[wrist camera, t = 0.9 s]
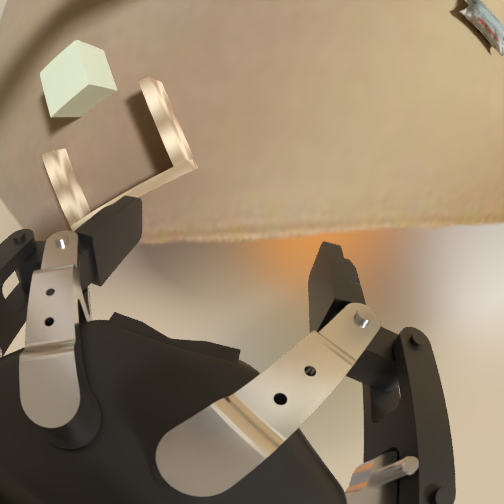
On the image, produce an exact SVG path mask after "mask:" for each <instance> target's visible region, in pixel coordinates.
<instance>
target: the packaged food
mask: <svg viewBox="0 0 504 504" xmlns="http://www.w3.org/2000/svg"><path fill="white" fill-rule="evenodd" d="M467 5H468V7H466V8H465V9H463V10H461V11H459V12H460V13H461V14H462V15H464V16H465V17H466V19H467V20H468V21H470V22H471V23H472V24H473V25H474V26H475V27H476V28H477V29H478V30H479V31H480V32H481V34H482V35H483V36H484V37H485V38H486V39H487V40H488V41H489V42H490V44H491V45H492V46H493V47H494V48H495V49H496V50H497V52H498V53H499V54H500V55H501V56H503V55H504V54H503V48H504V47H503V42H504V26H503V25H502V24H501V22H500V21H499V20H498V19H497V18H496V17H495V16H494V15H493V14H492V12H491V11H490V10H489V9H488V8H487V7H486V6H485V4H484V3H483V2H481V1H480V0H467Z"/></svg>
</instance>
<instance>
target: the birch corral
mask: <svg viewBox="0 0 504 504" xmlns="http://www.w3.org/2000/svg"><path fill="white" fill-rule="evenodd" d="M139 84H140V87H141V89H142V92H143V94H144V97H145V99H146V102H147V104H148V107H149V109H150V112H151V114H152V117H153V119H154V121H155V124H156V126H157V129H158V131H159V133H160V136H161V138H162V141H163V143H164V145H165V148H166V150H167V152H168V155H169V157H170V159H171V162H172V164H173V166H174V167H172V168H170V169H168V170H166V171H164V172H162V173H160V174H158V175H156V176H154V177H152V178H150V179H148V180H147V181H145V182H143V183H141V184H139V185H137V186H136V187H134V188H132V189H130V190H128V191H127V192H125V193H123V194H121V195H120V196H118V197H116V198H114V199H113V200H111V201H109V202H108V203H106V204H104V205H103V206H101V207H99V208H98V209H96V210H95V211H93V212H91V210H90V208H89V206H88V204H87V201H86V199H85V197H84V195H83V192H82V190H81V188H80V185H79V183H78V180H77V178H76V175H75V173H74V170H73V168H72V165H71V163H70V160H69V157H68V155H67V152H66V149H60V150H54V151H48V152H46V153H45V154H44V155H43V156H42V158H43V161H44V164H45V167H46V170H47V172H48V175H49V178H50V180H51V183H52V186H53V188H54V191H55V193H56V196H57V198H58V200H59V203H60V205H61V207H62V210H63V212H64V214H65V216H66V218H67V221H68V223H69V225H70V227H71V229H72V231H73V232H74V231H75V230H76V229H77V228H78V227H80V226H81V225H82V224H83V223H85V222H86V221H87V220H88V219H91V217H92V216H93V215H95V214H97V212H98V211H100V210H101V209H102V208H104V207H106V206H109V205H111V204H114V203H115V202H116V201H118V200H119V199H120V198H122V197H123V196H125V195H127V196H132V197H137V198H138V197H140V196H142V195H144V194H146V193H148V192H150V191H152V190H154V189H156V188H158V187H160V186H162V185H164V184H166V183H168V182H170V181H172V180H174V179H176V178H178V177H180V176H182V175H185V174H187V173H189V172H191V171H193V170H195V169H198V167H197V164H196V162H195V160H194V157H193V155H192V153H191V151H190V148H189V146H188V144H187V141H186V139H185V137H184V134H183V132H182V130H181V127H180V125H179V122H178V120H177V118H176V115H175V113H174V111H173V108H172V106H171V103H170V101H169V99H168V96H167V94H166V92H165V89H164V87H163V84H162V82H159V81H157V80H155V79H153V78H151V77H149V76H148V77H146V78H144V79H142V80H141V81H139Z"/></svg>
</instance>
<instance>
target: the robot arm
mask: <svg viewBox="0 0 504 504" xmlns="http://www.w3.org/2000/svg"><path fill="white" fill-rule="evenodd" d="M141 234H142V201H141V199H140V198H137V197H132V196H127V195H125V196H123V197H122V198H120V199H119V200H118V201H116V202H115V203H114V204H111V205H109V206H106V207H104V208H102V209H101V210H100V211H98V212H97V214H95V215H93V216H92V217H91V219H88V220H87V221H86V222H85V223H83V224H82V225H81V226H80V227H78V228H77V229H76V230H75V231H74V232H73V231H69V230H64V231H59V232H56V233H54V234H52V235H51V236H50V237H49V238H48V239H47V240H46V241H35V238H34V233H33V231H32V230H30V229H22V230H19V231H16V232H14V233H13V234H11V235H10V236H9V237H8V238H7V239H5V240H4V241H3V242H2V243H1V244H0V504H453V503H454V500H455V494H456V488H455V468H454V456H453V447H452V439H451V433H450V425H449V419H448V414H447V409H446V404H445V398H444V394H443V389H442V385H441V381H440V376H439V373H438V369H437V365H436V361H435V358H434V354H433V351H432V348H431V344H430V342H429V340H428V338H427V337H426V336H425V335H424V334H423V333H422V332H421V331H420V330H418V329H416V328H413V327H405V328H404V329H403V330H402V331H401V332H400V333H399V335H398V334H395V333H393V332H391V331H389V330H387V329H385V328H383V327H381V322H380V319H379V317H378V315H377V314H376V312H375V311H374V310H372V309H371V308H370V307H368V306H366V303H365V299H364V296H363V292H362V288H361V285H360V281H359V278H358V274H357V271H356V268H355V266H354V265H353V264H352V263H351V261H350V260H348V259H345V258H344V257H343V252H342V249H341V246H340V245H336V244H332V243H328V242H325V241H324V242H323V243H322V244H321V247H320V249H319V252H318V254H317V257H316V260H315V262H314V265H313V267H312V270H311V272H310V276H309V281H308V292H309V318H310V320H309V321H310V334H309V335H307V336H306V337H305V338H304V339H303V340H302V341H301V342H300V343H298V344H297V345H296V346H294V347H293V348H292V349H291V350H290V351H288V353H286V354H285V355H284V356H283V357H281V358H280V359H279V360H277V361H276V362H275V363H274V364H272V365H271V366H270V367H269V368H267V369H266V370H265V371H264V372H262V373H261V374H260V373H259V372H258V371H257V370H255V369H254V368H253V367H251V366H250V365H248V364H247V363H245V362H243V361H241V360H239V354H240V350H239V349H235V348H230V347H227V346H223V345H219V344H215V343H211V342H207V341H191V340H179V339H171V338H168V337H166V336H165V335H163V334H161V333H160V332H158V331H156V330H155V329H153V328H151V327H149V326H148V325H146V324H145V323H143V322H141V321H138V320H135V319H132V318H130V317H127V316H124V315H121V314H118V313H116V312H114V314H113V315H112V317H111V318H110V320H94V321H92V313H91V304H90V292H89V288H88V286H89V285H90V283H93V284H95V285H98V286H102V285H103V284H104V282H105V281H106V280H107V279H108V277H109V276H110V275H111V274H112V272H113V271H114V270H115V269H116V268H117V266H118V265H119V264H120V263H121V262H122V260H123V259H124V258H125V257H126V256H127V254H128V253H129V252H130V251H131V250H132V249H133V248H134V246H135V245H136V244H137V243H138V242H139V240H140V238H141ZM14 271H15V272H16V274H17V277H18V280H19V284H18V285H17V286H16V287H15V288H14V289H13V291H12V292H11V293H10V294H9V295H8V297H7V298H6V299H5V298H4V296H3V293H2V287H3V284H4V282H5V280H6V279H7V278H8V277H9V276H10V275H11V274H12V273H13V272H14ZM25 322H26V335H25V347H24V348H22V349H20V350H18V351H15V352H13V353H10V354H8V355H6V356H3V355H4V354H5V352H6V351H7V349H8V347H9V346H10V344H11V343H12V341H13V339H14V338H15V337H16V335H17V334H18V332H19V330H20V329H21V328H22V326H23V325H24V323H25ZM345 376H348V377H350V378H352V379H355V380H357V381H359V382H362V383H363V403H364V463H363V464H361V465H360V466H359V467H357V468H356V470H355V471H354V473H353V475H352V477H351V481H350V484H349V487H348V489H347V490H346V491H345V492H344V490H343V488H342V487H341V485H340V484H339V483H338V481H337V480H336V479H335V477H334V476H333V474H332V473H331V472H330V470H329V469H328V468H327V466H326V465H325V464H324V462H323V461H322V460H321V458H320V457H319V455H318V454H317V453H316V451H315V450H314V448H313V447H312V446H311V444H310V443H309V442H308V440H307V439H306V437H305V436H304V435H303V433H302V431H301V430H300V429H299V427H300V425H302V424H303V423H304V422H305V421H306V419H308V417H309V416H310V415H311V414H312V413H313V412H314V411H315V410H316V409H317V408H318V407H319V406H320V404H321V403H322V402H323V401H324V400H325V399H326V398H327V397H328V396H329V394H330V393H331V392H332V391H333V390H334V389H335V387H336V386H337V385H338V384H339V383H340V381H341V380H342V379H343V378H344V377H345ZM398 386H399V387H400V394H399V387H398ZM400 395H401V396H400Z"/></svg>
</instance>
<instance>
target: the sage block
mask: <svg viewBox="0 0 504 504" xmlns="http://www.w3.org/2000/svg"><path fill="white" fill-rule="evenodd" d="M40 76H41V81H42V85H43V90H44V94H45V98H46V102H47V106H48V109H49V113H50V116H51V117H82V116H83V115H85V114H86V113H87V112H88V111H90V110H91V109H92V108H94V107H95V106H96V105H98V104H99V103H100V102H102V101H103V100H105V99H106V98H107V97H109V96H110V95H112V94H113V93H115V92H116V91H117V88H116V85H115V82H114V80H113V77H112V74H111V71H110V68H109V65H108V62H107V59H106V56H105V53H104V50H101V49H99V48H97V47H94V46H92V45H89V44H87V43H84V42H81V41H79V40H75V41H74V42H73V43H72V44H70V45H69V46H68V47H67V48H66V49H65V50H63V51H62V52H61V53H60V54H59V55H58V56H57V57H56V58H55V59H54V60H52V61H51V62H50V63H49V64H48V65H47V66H46V67H45V68H44V69H43V70H42V71H41V72H40Z"/></svg>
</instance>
